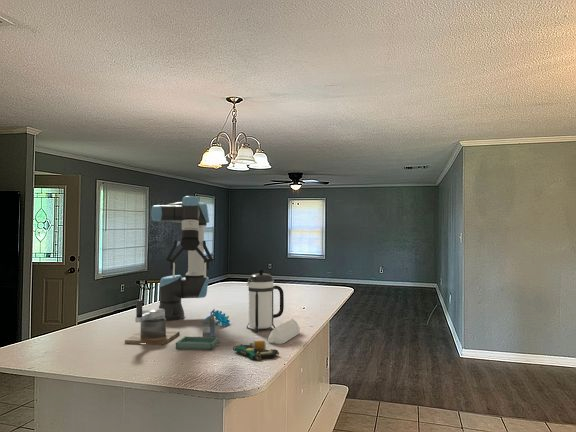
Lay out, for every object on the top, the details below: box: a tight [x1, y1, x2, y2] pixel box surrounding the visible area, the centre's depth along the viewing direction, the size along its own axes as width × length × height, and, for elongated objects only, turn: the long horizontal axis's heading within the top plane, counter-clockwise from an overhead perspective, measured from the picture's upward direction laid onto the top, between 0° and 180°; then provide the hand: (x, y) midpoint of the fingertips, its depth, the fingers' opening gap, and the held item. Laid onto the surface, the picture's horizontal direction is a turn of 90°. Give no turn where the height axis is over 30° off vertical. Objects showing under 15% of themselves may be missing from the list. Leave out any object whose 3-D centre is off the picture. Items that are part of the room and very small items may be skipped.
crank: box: [134, 299, 165, 323], centre depth 192 cm, size 20×10×11 cm, turn 173°
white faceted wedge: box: [267, 318, 301, 345], centre depth 198 cm, size 7×7×24 cm
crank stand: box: [124, 319, 181, 345], centre depth 197 cm, size 18×18×8 cm
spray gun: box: [232, 340, 280, 361], centre depth 173 cm, size 4×17×15 cm
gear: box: [214, 310, 231, 327], centre depth 224 cm, size 11×6×10 cm
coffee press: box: [246, 268, 285, 333], centre depth 216 cm, size 17×16×30 cm
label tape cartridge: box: [202, 308, 216, 337], centre depth 200 cm, size 9×4×12 cm, turn 178°
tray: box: [175, 336, 220, 351], centre depth 185 cm, size 11×16×2 cm
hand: (189, 277), depth 193 cm, fingers open, 13 cm apart
